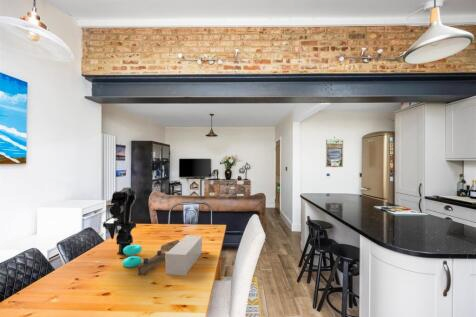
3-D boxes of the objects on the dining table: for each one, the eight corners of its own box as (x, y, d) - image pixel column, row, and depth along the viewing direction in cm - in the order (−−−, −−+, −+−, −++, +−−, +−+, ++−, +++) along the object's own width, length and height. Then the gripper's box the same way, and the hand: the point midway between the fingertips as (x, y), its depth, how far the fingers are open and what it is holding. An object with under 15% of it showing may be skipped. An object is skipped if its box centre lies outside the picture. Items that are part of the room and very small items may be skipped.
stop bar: (138, 275, 126) (138, 261, 126) (160, 260, 145) (161, 248, 146) (142, 275, 125) (143, 262, 126) (165, 261, 145) (165, 249, 145)
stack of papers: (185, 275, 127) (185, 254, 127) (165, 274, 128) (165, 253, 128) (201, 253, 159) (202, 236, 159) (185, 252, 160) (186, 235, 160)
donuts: (141, 243, 146) (142, 248, 137) (141, 259, 146) (142, 266, 137) (123, 245, 142) (122, 250, 133) (122, 262, 142) (122, 269, 133)
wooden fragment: (168, 253, 158) (168, 251, 158) (153, 251, 161) (153, 249, 161) (186, 241, 183) (186, 239, 183) (172, 239, 186) (172, 238, 186)
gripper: (95, 214, 138) (94, 242, 137) (123, 215, 133) (122, 245, 132) (110, 210, 149) (109, 236, 148) (136, 212, 144) (136, 239, 143)
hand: (119, 239), depth 142 cm, fingers open, 9 cm apart
